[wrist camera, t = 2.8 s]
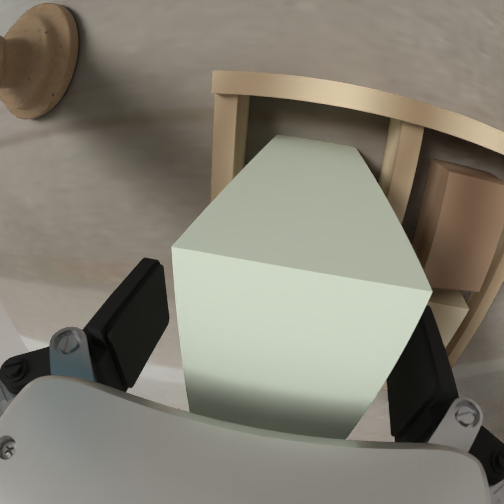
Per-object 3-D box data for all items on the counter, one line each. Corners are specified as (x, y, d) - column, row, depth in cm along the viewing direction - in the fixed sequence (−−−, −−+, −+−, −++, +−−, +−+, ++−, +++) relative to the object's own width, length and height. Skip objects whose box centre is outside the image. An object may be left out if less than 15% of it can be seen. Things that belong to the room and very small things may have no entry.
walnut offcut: (487, 171, 13) (513, 188, 10) (462, 263, 16) (479, 291, 13) (428, 157, 14) (449, 171, 11) (407, 256, 17) (418, 285, 14)
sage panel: (355, 147, 14) (432, 291, 4) (317, 317, 20) (297, 496, 10) (276, 134, 15) (171, 246, 5) (258, 306, 20) (202, 478, 10)
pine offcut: (454, 279, 17) (469, 309, 14) (423, 336, 19) (431, 367, 17) (401, 268, 17) (412, 298, 14) (374, 328, 20) (378, 361, 17)
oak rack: (532, 149, 11) (561, 162, 9) (441, 363, 20) (448, 392, 17) (232, 74, 14) (212, 70, 11) (220, 331, 22) (208, 361, 20)
